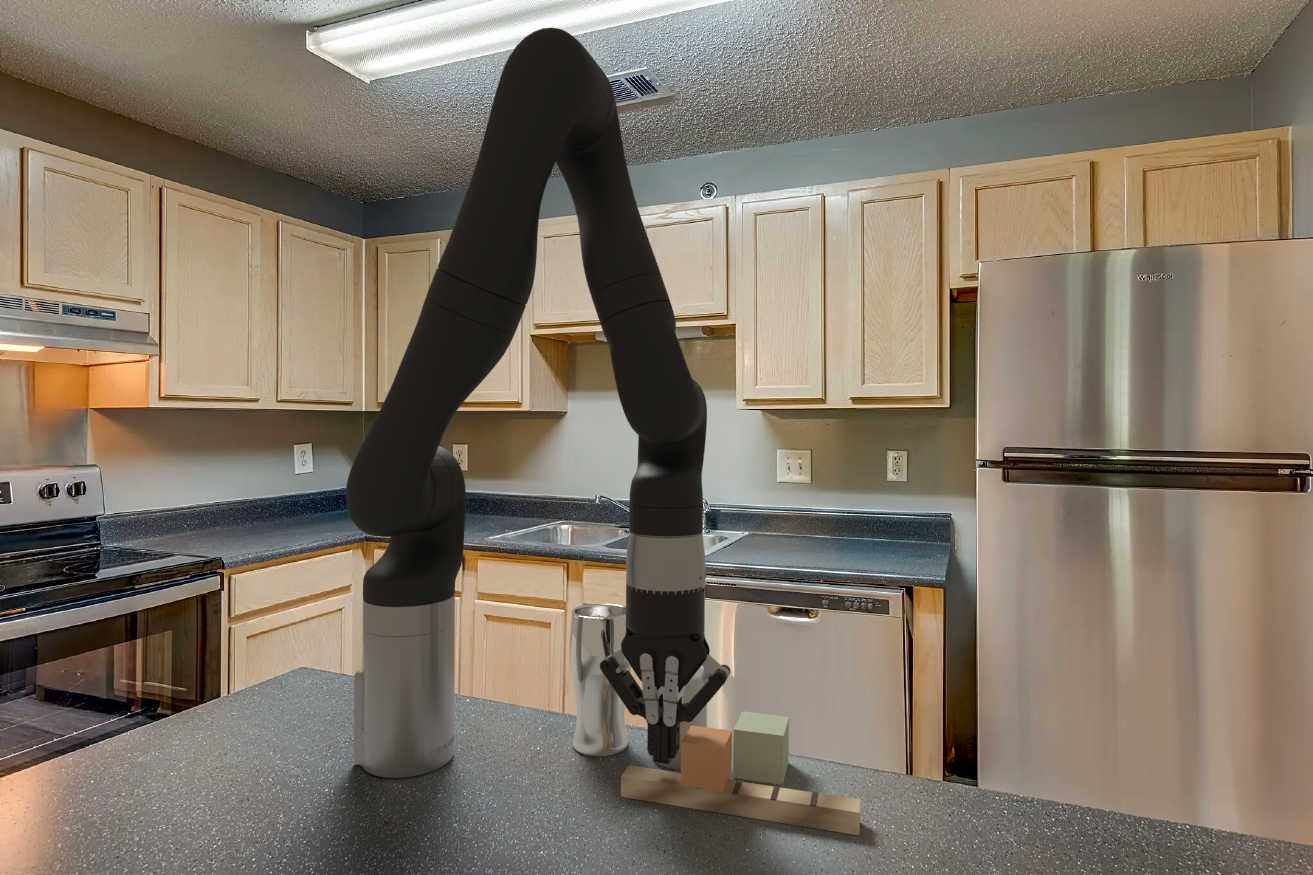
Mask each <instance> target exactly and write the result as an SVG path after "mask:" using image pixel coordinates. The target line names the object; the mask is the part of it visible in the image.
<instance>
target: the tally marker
mask: <svg viewBox="0 0 1313 875" xmlns="http://www.w3.org/2000/svg"><path fill="white" fill-rule="evenodd" d="M732 752H733V730H730V729H729V730H728V729H721V728H714V727H708V726H707V727H700V726H692V725H691V727H690V728H689V730H688V732H687V733H686V735H685V736H684V738H683V740H682V741H681V769H680V773H681V785H682V786H688V787H695V788H701V789H708V790H714V791H721V792H723V791H724V789H725V786H726V784H727V782H728V780H730V776H731V774H732V772H733V761H732V760H733V758H732V757H733V755H732Z"/></svg>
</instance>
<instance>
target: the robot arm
mask: <svg viewBox="0 0 1313 875" xmlns="http://www.w3.org/2000/svg"><path fill="white" fill-rule="evenodd" d="M614 91H615V90H614V88H613V85H612V84H611V81H610V79H609V77H608V76H607V75H606V73H605V72H604V71H603V68H601V67H600V65H599V64H598V62H596V60H595V59H594V57H593V56H592V55H591V54H590V52H589V51H588V50H587V49H586V48H585V47H584V45H583V44H582V43H581V42H580V41H579V40H578V39H577V38H576V37H574V36H573V35H572V34H571V33H569V32H568V31H566V30H564V29H561V28H558V27H545V28H544V27H543V28H540V29H537V30H535V31H532V32H531V33H529V34H527V35H526V36H525V37H524V38H522V39H521V41H520V42H518V43H517V45H515V47H514V49H513V50H512V51H511V53H510V54H509V56H508V57H507V60H506V62H505V64H504V65H503V68H502V71H501V74H500V76H499V79H498V82H497V87H496V91H495V94H494V97H493V100H492V105H491V108H490V111H489V116H488V119H487V124H486V126H485V127H486V128H485V131H484V134H483V139H482V142H481V147H480V150H479V152H478V157H477V161H476V163H475V167H474V170H473V174H472V176H471V178H470V181H469V184H468V186H467V189H466V192H465V194H464V197H463V200H462V203H461V205H460V207H459V210H458V214H457V216H456V219H455V222H454V225H453V227H452V231H451V233H450V236H449V239H448V241H447V243H446V246H445V248H444V251H443V253H442V255H441V257H440V259H439V262H438V264H437V267H436V268H435V272H434V274H433V277H432V280H431V282H430V284H429V286H428V287H429V288H428V290H427V292H426V295H425V298H424V301H423V305H422V307H421V311H420V314H419V317H418V319H417V321H416V325H415V327H414V330H413V333H412V335H411V338H410V340H409V342H408V344H407V346H406V350H405V352H404V354H403V357H402V359H401V361H400V365H398V366H399V367H398V370H397V372H396V374H395V377H394V379H393V382H392V384H391V386H390V389H389V391H388V392H387V394H386V397H385V399H384V401H383V403H382V405H381V407H380V409H379V411H378V413H377V414H376V417H375V418H374V420H373V423H372V424H371V426H370V429H369V430H368V433H367V434H366V436H365V438H364V439H363V442H362V444H361V446H360V448H359V450H358V451H357V454H356V456H355V458H354V460H353V463H352V464H351V465H352V466H351V468H350V469H349V473H348V476H347V480H346V488H345V502H346V507H347V512H348V515H349V516H350V519H351V520H352V522H353V524H354V525H355V526H356V527H357V528H358V529H359V530H360V531H361V532H362V533H364V534H367V535H369V536H373V537H389V543H388V545H387V546H386V549H385V551H384V553H383V554H382V556H381V557H380V558H379V559H378V560H377V561H376V562H375V563H374V564H373V565H372V566H370V568H368V569H367V570H366V572H365V573H364V576H363V578H362V580H363V581H362V668H361V669H359V670H357V671H356V672H355V673H354V676H353V764H354V765H357V766H361V767H362V768H363V770H364V771H365V772H366V773H369V774H371V775H373V776H375V777H381V778H390V779H391V778H393V779H396V778H409V777H415V776H421V775H425V774H428V773H431V772H433V771H435V770H438V769H440V768H441V767H444V766H445V765H447V764H448V763H449V762H450V761H451V760H452V759H453V756H454V754H455V751H454V750H455V673H456V672H455V666H456V664H455V662H456V661H455V660H456V659H455V658H456V656H455V655H456V654H455V653H456V652H455V650H456V649H455V648H456V645H455V642H456V637H455V636H456V620H455V619H456V610H455V609H456V595H455V594H456V590H455V589H456V581H457V580H456V579H457V576H458V574H459V572H460V569H461V566H462V565H463V564H462V563H463V558H464V546H465V530H466V529H465V528H466V509H467V508H466V507H467V506H466V504H467V493H466V492H467V491H466V490H467V488H466V481H465V476H464V473H463V469H462V467H461V465H460V463H459V461H458V459H457V458H456V456H455V455H453V453H452V452H450V451H449V450H448V449H446V448H444V447H442V446H440V444H441V441H442V439H443V436H444V434H445V432H446V430H447V428H448V426H449V424H450V422H451V421H452V419H453V418H454V416H455V414H456V413H457V411H458V410H459V408H460V407H461V406H462V405H463V403H464V402H465V401H466V400H467V399H468V398H469V396H470V395H471V394H472V393H473V392H474V391H475V390H476V388H477V387H479V385H480V384H481V383H482V382H483V381H484V380H485V379H486V378H487V377H488V375H489V374H490V373H491V372H492V370H494V368H495V367H496V366H497V364H499V362H500V360H501V359H502V357H504V356H505V354H506V352H507V351H508V349H509V346H510V345H511V343H512V340H513V339H514V337H515V334H516V332H517V330H518V326H519V324H520V322H521V320H522V317H523V315H524V312H525V309H526V307H527V306H526V305H527V304H528V301H529V299H530V296H531V293H532V290H533V286H534V281H535V276H536V268H537V266H536V265H537V256H538V235H539V220H540V212H541V206H542V202H543V197H544V193H545V190H546V186H547V183H548V182H549V178H550V176H551V173H552V170H553V169H554V167H555V164H556V165H557V167H558V169H559V171H560V173H561V175H562V178H563V180H564V181H565V184H566V186H567V188H568V191H569V193H570V196H571V200H572V202H573V206H574V209H575V213H576V217H577V223H578V230H579V241H580V250H581V258H582V259H581V260H582V266H583V271H584V276H585V279H586V283H587V287H588V290H589V293H590V297H591V300H592V303H593V306H594V309H595V312H596V316H597V318H598V322H599V323H600V326H601V329H602V333H603V335H604V337H605V339H606V341H607V344H608V347H609V348H608V349H609V354H610V360H611V366H612V371H613V374H614V376H613V377H614V381H615V387H616V389H617V393H618V398H619V401H620V405H621V407H622V411H623V414H624V415H625V416H624V417H625V418H626V420H627V423H628V424H629V427H630V428H631V429H632V430H633V431H634V433H635V434H636V435H637V436H638V438H637V440H638V441H637V442H638V443H637V467H636V472H635V474H634V475H633V477H632V478H631V479H632V480H631V483H630V487H629V488H630V489H629V504H628V505H629V507H628V508H629V513H628V517H629V518H628V521H629V522H628V531H629V532H628V543H627V548H626V555H625V557H626V558H625V564H626V565H625V572H626V573H625V576H626V577H625V607H626V634H625V637H624V638H623V640H622V642H621V649H620V650H619V651H617V652H616V653H611V654H610V655H609V656H608V657H606V658H605V659H604V660H603V661H602V662H601V663H600V669H601V671H602V672H603V674H604V675H605V677H606V678H607V680H608V681H609V683H610V684H611V686H612V687H613V688H614V690H615V691H616V693H617V694H618V696H619V697H620V699H621V700H622V702H623V703H624V705H625V708H626V709H627V710H628V712H629V713H630V714H631V715H633V716H637V715H638V716H639V717H642V718H643V719H644V720H645V721H646V723H647V741H646V743H647V747H646V748H647V749H646V750H647V752H648V755H649V756H651V755H652V756H653V760H652V762H653V763H655V762H656V763H663V764H669V763H670V761H671V760H672V758H673V759H674V758H675V756H676V754H677V753H678V751H679V748H680V722H683V721H686V722H691V721H693V719H694V718H695V717H696V716H697V715H698V714H699V712H700V711H701V710H702V709H703V708H704V707H705V705H706V704H707V705H708V703H709V702H710V701H711V700H712V699H713V697H715V695H716V694H717V693H718V691H720V690H721V688H722V687H723V685H725V683H726V681H728V680H727V679H728V678H729V676H730V675H731V668H730V667H729V666H728V664H720V663H719V662H718V661H717V660H716V659H715V658H713V656H711V655H710V652H711V651H710V646H709V643H708V641H707V639H706V637H705V624H706V623H705V620H706V618H705V612H706V608H705V606H706V593H705V592H706V578H707V567H706V553H705V545H704V535H703V534H704V533H703V531H704V530H703V529H704V528H703V526H704V524H703V522H704V521H703V520H704V519H703V518H704V517H703V516H704V512H703V511H704V505H703V504H704V494H703V482H702V481H703V478H702V477H703V467H704V460H705V450H706V439H707V438H706V437H707V426H708V425H707V424H708V406H707V405H708V404H707V399H706V396H705V392H704V391H703V389H702V387H701V386H700V384H699V383H698V382H697V381H696V380H695V379H693V378H692V375H691V372H690V370H689V367H688V364H687V361H686V359H685V356H684V353H683V350H682V347H681V345H680V341H679V339H678V337H677V333H676V330H677V323H676V318H675V313H674V308H673V305H672V303H671V299H670V296H669V293H668V291H667V288H666V286H665V285H666V284H665V281H664V278H663V277H662V276H663V275H662V274H661V271H660V267H659V265H658V262H657V259H656V256H655V254H654V250H653V248H652V245H651V242H650V240H649V236H648V234H647V231H646V229H645V226H644V222H643V219H642V217H641V214H640V211H639V207H638V204H637V201H636V198H635V194H634V193H635V192H634V191H633V186H632V183H631V177H630V175H629V174H630V173H629V169H628V165H627V159H626V156H625V149H624V143H623V138H622V131H621V125H620V120H619V113H618V107H617V102H616V101H617V100H616V96H615V92H614ZM628 662H629V663H628ZM629 664H630V665H631V670H633V671H634V674H635V675H636V676H637V678H638V680H639V681H640V682H641V684H642V687H641V686H640V685H639V683H638V682H637V681H636V679H635V677H634V676H633V675H632V673H631V672H629V670H628V669H629ZM699 668H702V669H704V672H703V674H702V681H703V682H704V683H705V684H704V685H703V686H702V688H701V689H700V690H699V691H698V692H697V693H696V695H695V696H694V697H693V698H692V699H691V700H690V702H688V703H684V704H683V695H684V692H685V685H687V684H688V682H689V681H690V680H691V679H692V677H693V676H694V675H695V673H696V672H697V671H698V670H699ZM656 763H655V764H656Z"/></svg>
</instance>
